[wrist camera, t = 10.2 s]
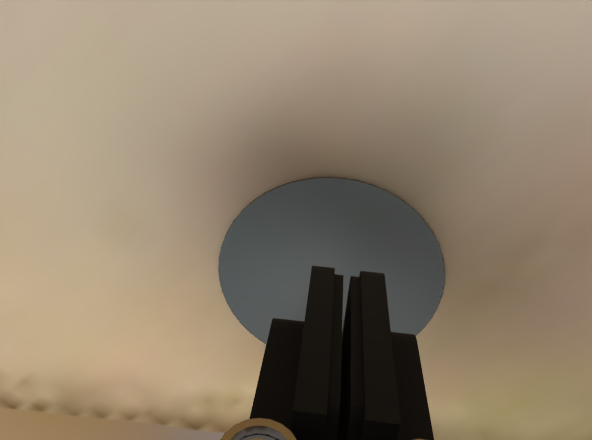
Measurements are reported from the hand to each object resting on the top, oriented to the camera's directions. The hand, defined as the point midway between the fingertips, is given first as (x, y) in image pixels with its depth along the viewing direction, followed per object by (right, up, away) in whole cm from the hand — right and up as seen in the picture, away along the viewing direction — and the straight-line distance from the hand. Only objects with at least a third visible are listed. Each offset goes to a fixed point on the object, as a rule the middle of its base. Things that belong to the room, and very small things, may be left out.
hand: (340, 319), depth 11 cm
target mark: (+1, -1, +18) cm, 18 cm away
